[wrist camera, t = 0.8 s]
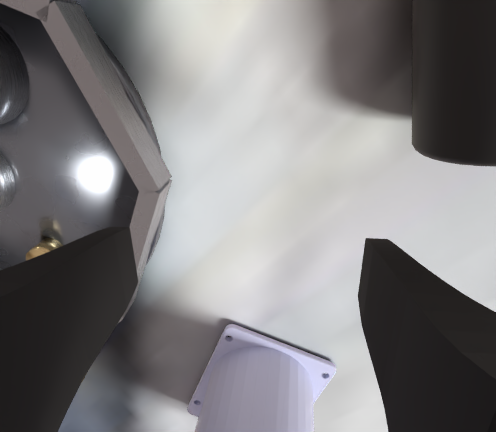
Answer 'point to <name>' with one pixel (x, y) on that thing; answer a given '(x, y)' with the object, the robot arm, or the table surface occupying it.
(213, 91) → the table surface
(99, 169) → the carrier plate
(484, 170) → the table surface
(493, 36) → the end cap
